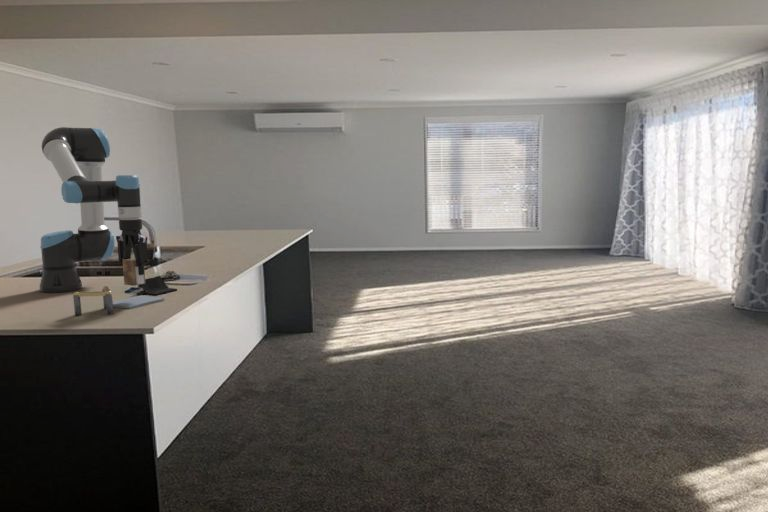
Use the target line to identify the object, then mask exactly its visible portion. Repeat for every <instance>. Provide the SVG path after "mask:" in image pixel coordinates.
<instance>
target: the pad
mask: <svg viewBox="0 0 768 512" xmlns="http://www.w3.org/2000/svg"><path fill="white" fill-rule="evenodd" d="M163 301H165V298H163V297H158V296H151V295H137V296H132V297H128V298H125V299H124V298H123V299H120V300H115V301H113V308H114V307H115V308H120V309H121V308H122V309H127V310H131V309H135V308H138V307H139V308H140V307H143V306H147V305H151V304H155V303H159V302H163Z"/></svg>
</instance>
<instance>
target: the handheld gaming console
mask: <svg viewBox="0 0 768 512" xmlns="http://www.w3.org/2000/svg"><path fill="white" fill-rule="evenodd" d="M157 276H158V277H156V276H155V277H154V276H153V277H149V278H145V284H140V287H141V288H142V290H143V292H144V296H152V297H158V296H161V295H165V294H169V293H174V292H178V288H172V287H168V286H167V285H166V282H164V281H163V279H162V278H161V275H160V276H159V275H157Z"/></svg>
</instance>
